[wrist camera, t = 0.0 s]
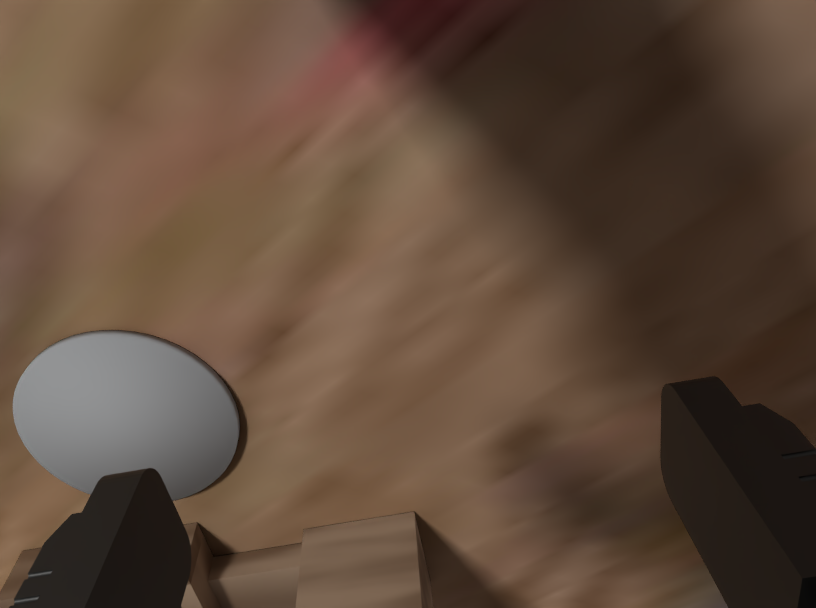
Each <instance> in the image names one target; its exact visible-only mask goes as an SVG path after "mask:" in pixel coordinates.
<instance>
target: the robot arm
mask: <svg viewBox="0 0 816 608" xmlns="http://www.w3.org/2000/svg"><path fill="white" fill-rule="evenodd" d="M661 469H662V475H663V479H664V483H665V486H666V489H667V492H668V494H669V497H670V499H671V501H672V503H673V505H674V507H675V509H676V511H677V512H678V514H679V516H680V518H681V520H682V522H683V524H684V525H685V527H686V529H687V531H688V533H689V535H690V537H691V539H692V540H693V542H694V544H695V546H696V548H697V550H698V552H699V553H700V555H701V557H702V559H703V561H704V563H705V565H706V566H707V568H708V570H709V572H710V574H711V576H712V578H713V580H714V581H715V583H716V585H717V587H718V589H719V591H720V593H721V594H722V596H723V598H724V600H725V602H726V604H727V606H728V607H729V608H816V449H815V447H814V446H813V445H812V444H811V443H810V442H809V441H808V440H807V438H806V437H805V436H804V435H803V434H802V433H801V432H800V430H799V429H798V428H797V427H796V426H795V425H794V424H793V423H792V422H790V421H789V420H787V419H785V418H784V417H782V416H780V415H778V414H777V413H775V412H773V411H772V410H770V409H768V408H767V407H765V406H763V405H762V404H754V405H748V406H741V404H740V403H739V402H738V401H737V399H736V398H735V397H734V396H733V394H732V393H731V392H730V391H729V389H728V388H727V387H726V386H725V384H724V383H723V382H722V381H721V380H720V379H719V378H718V377H715V376H712V377H706V378H700V379H694V380H688V381H682V382H676V383H670V384H666V385H664V387H663V389H662V396H661ZM191 557H192V556H191V545H190V540H189V537H188V534H187V532H186V529H185V527H184V525H183V523H182V521H181V519H180V516H179V514H178V512H177V510H176V508H175V506H174V503H173V501H172V499H171V497H170V495H169V493H168V490H167V488H166V486H165V484H164V482H163V480H162V478H161V476H160V474H159V473H158V471H156V470H155V469H153V468H146V469H140V470H134V471H128V472H122V473H116V474H110V475H105V476H103V477H102V478H100V480H99V481H98V482H97V484H96V486H95V488H94V490H93V492H92V494H91V496H90V498H89V500H88V502H87V504H86V506H85V507H84V509H83V511H82V513H76V514H72V515H71V516H70V517H69V518H68V519H67V520H66V521H65V522H64V523H63V524H62V525H61V526H60V527H59V528H58V529H57V530H56V531H55V532H54V533H53V534H52V535H51V536H50V538H49V539H48V540H47V541H46V542H45V543H44V545H43V546H42V548H41V550H40V552H39V554H38V556H37V557H36V559H35V561H34V563H33V565H32V567H31V569H30V570H29V572H28V579H25V580H24V581H23V583H22V585H21V587H20V589H19V591H18V592H17V594H16V596H15V598H14V605H13V606H10V607H9V608H180V607H181V604H182V600H183V597H184V593H185V590H186V586H187V583H188V579H189V576H190V571H191Z"/></svg>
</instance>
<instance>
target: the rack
mask: <svg viewBox="0 0 816 608" xmlns="http://www.w3.org/2000/svg"><path fill="white" fill-rule="evenodd" d="M184 527H185V529H186V532H187V534H188V537H189V540H190V545H191V556H192V557H191V571H190V576H189V579H188V583H187V586H186V590H185V593H184V597H183V600H182V604H181V607H182V608H433V599H432V589H431V581H430V577H429V573H428V569H427V564H426V560H425V556H424V551H423V547H422V543H421V539H420V534H419V530H418V526H417V521H416V517H415V513H414V512H409V513H403V514H397V515H391V516H385V517H378V518H372V519H366V520H360V521H353V522H347V523H341V524H335V525H328V526H322V527H316V528H310V529H303V539H302V543H299V544H292V545H286V546H280V547H274V548H267V549H261V550H255V551H248V552H242V553H236V554H230V555H223V556H217V557H213V555H212V553H211V551H210V549H209V546H208V544H207V542H206V540H205V538H204V536H203V534H202V532H201V530H200V528H199V525H198V523H192V524H186V525H184ZM40 550H41V548H37V549H31V550H25V551H22V553H21V554H20V556H19V558H18V560H17V562H16V564H15V566H14V567H13V569H12V571H11V573H10V575H9V577H8V579H7V580H6V582H5V584H4V586H3V588H2V590H1V592H0V608H9V607H10V606H13V605H14V598H15V596H16V594H17V592H18V591H19V589H20V587H21V585H22V583H23V581H24V580H25V579H28V572H29V570H30V569H31V567H32V565H33V563H34V561H35V559H36V557H37V556H38V554H39V552H40Z"/></svg>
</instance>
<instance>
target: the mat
mask: <svg viewBox="0 0 816 608" xmlns="http://www.w3.org/2000/svg"><path fill="white" fill-rule="evenodd" d="M13 415H14V421H15V425H16V428H17V431H18V434H19V436H20V437H21V439H22V441H23V443H24V445H25V446H26V448H27V449H28V451H29V452H30V453H31V455H32V456H33V457H34V458H35V459H36V460H37V461H38V462H39V463H40V464H41V465H42V466H43V467H44V468H45V469H46V470H47V471H49V472H50V473H51V474H53V475H54V476H55V477H57V478H58V479H60V480H61V481H63V482H65V483H66V484H68V485H70V486H72V487H74V488H76V489H78V490H80V491H83V492H85V493H88V494H90V495H91V494H92V492H93V490H94V488H95V486H96V484H97V482H98V481H99V480H100V478H102V477H103V476H105V475H110V474H116V473H122V472H128V471H134V470H140V469H146V468H153V469H155V470H156V471H158V473H159V474H160V476H161V478H162V480H163V482H164V484H165V486H166V488H167V490H168V493H169V495H170V497H171V499H172V501H174V500H178V499H181V498H184V497H187V496H190V495H192V494H195V493H197V492H199V491H201V490H203V489H204V488H206V487H207V486H209V485H210V484H212V483H213V482H214V481H215V480H216V479H218V478H219V477H220V476H221V474H222V473H223V472H224V471H225V470H226V469H227V467H228V465H229V464H230V462H231V461H232V458H233V456H234V453H235V451H236V447H237V442H238V438H239V431H240V421H239V413H238V410H237V406H236V403H235V401H234V399H233V396H232V394H231V392H230V390H229V389H228V387H227V386H226V384H225V383H224V381H223V380H222V379H221V378H220V377H219V376H218V374H217V373H216V372H215V371H214V370H213V369H212V368H211V367H210V366H208V365H207V364H206V363H205V362H204V361H203V360H201V359H200V358H198V357H197V356H196V355H194V354H193V353H191V352H189V351H188V350H186V349H184V348H182V347H180V346H178V345H176V344H174V343H172V342H169V341H167V340H164V339H161V338H158V337H155V336H152V335H148V334H143V333H138V332H133V331H123V330H99V331H91V332H85V333H81V334H77V335H73V336H70V337H68V338H65V339H62V340H60V341H58V342H56V343H54V344H53V345H51V346H49V347H48V348H46V349H45V350H44V351H42V352H41V353H40V354H39V355H38V356H37V357H36V358H35V359H34V360H33V361H32V362H31V363H30V365H29V366H28V367H27V369H26V370H25V372H24V373H23V375H22V376H21V378H20V379H19V382H18V384H17V387H16V389H15V393H14V398H13Z"/></svg>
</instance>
